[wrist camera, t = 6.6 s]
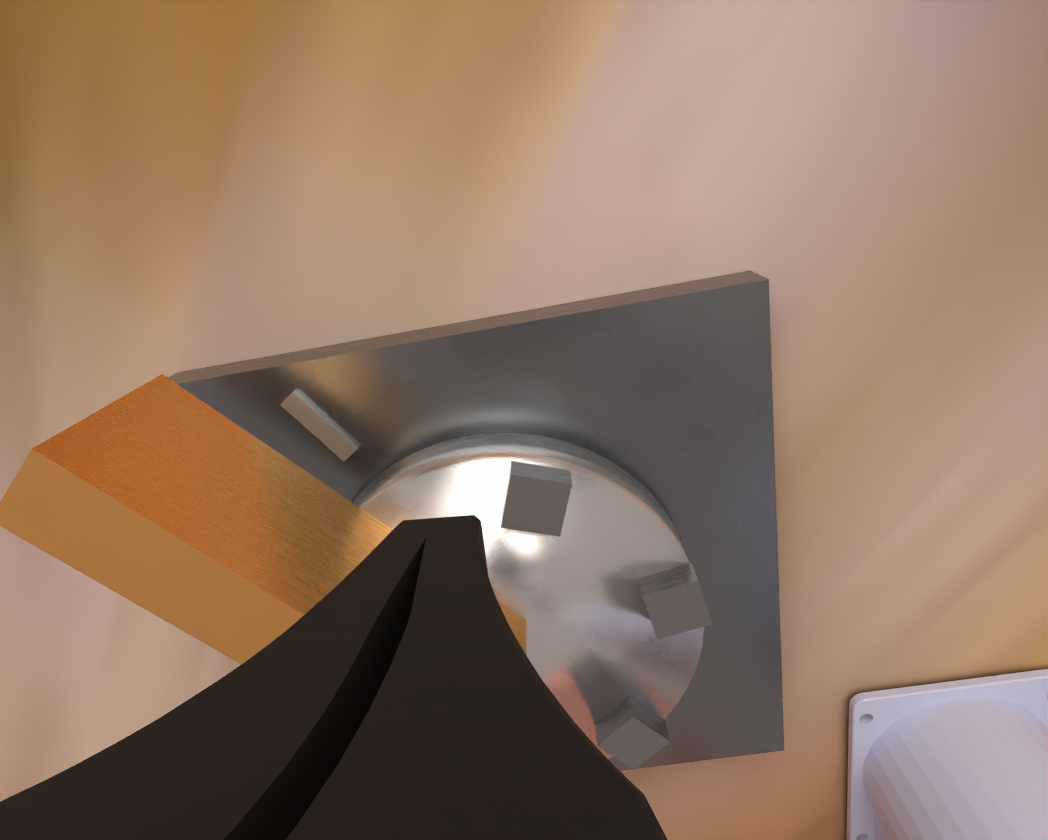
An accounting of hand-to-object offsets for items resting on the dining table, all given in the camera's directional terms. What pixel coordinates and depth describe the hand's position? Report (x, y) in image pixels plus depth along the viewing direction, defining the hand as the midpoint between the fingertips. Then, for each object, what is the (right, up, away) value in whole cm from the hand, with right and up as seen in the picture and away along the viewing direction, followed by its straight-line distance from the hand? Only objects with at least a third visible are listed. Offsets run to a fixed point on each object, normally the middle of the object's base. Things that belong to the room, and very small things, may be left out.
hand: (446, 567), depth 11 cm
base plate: (+1, -3, +12) cm, 12 cm away
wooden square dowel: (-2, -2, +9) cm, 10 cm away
